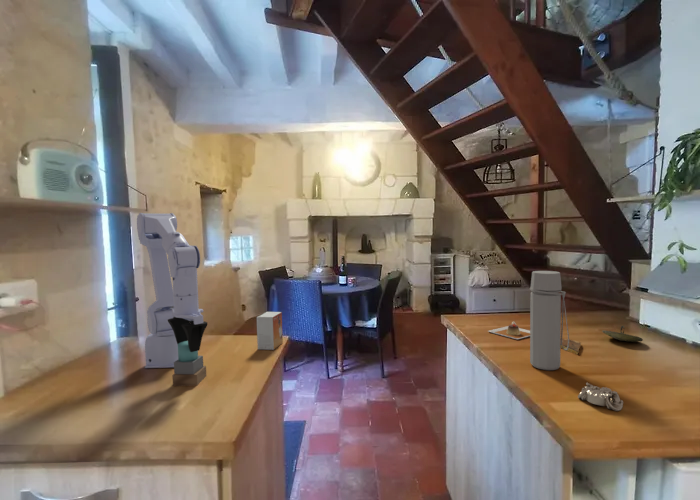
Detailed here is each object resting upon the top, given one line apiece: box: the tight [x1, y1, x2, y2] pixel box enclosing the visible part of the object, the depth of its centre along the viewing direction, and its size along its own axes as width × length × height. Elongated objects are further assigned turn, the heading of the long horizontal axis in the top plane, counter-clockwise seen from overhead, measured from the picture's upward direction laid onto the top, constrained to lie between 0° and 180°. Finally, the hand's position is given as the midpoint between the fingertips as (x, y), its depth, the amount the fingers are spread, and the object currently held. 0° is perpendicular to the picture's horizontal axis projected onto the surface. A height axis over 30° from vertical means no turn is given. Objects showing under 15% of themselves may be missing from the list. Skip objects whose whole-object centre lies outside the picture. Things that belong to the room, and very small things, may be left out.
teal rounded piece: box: [178, 341, 199, 362], centre depth 96 cm, size 5×5×4 cm
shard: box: [560, 338, 582, 355], centre depth 115 cm, size 11×8×2 cm
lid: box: [601, 325, 644, 343], centre depth 120 cm, size 11×10×5 cm
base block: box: [172, 365, 207, 387], centre depth 97 cm, size 6×6×3 cm
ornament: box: [577, 382, 624, 412], centre depth 80 cm, size 8×7×4 cm
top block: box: [173, 355, 204, 374], centre depth 96 cm, size 5×5×3 cm
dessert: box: [487, 321, 530, 341], centre depth 132 cm, size 12×12×5 cm
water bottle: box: [529, 270, 570, 371], centre depth 100 cm, size 9×8×25 cm
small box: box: [256, 311, 284, 351], centre depth 124 cm, size 8×6×10 cm
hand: (188, 347), depth 96 cm, fingers open, 7 cm apart
